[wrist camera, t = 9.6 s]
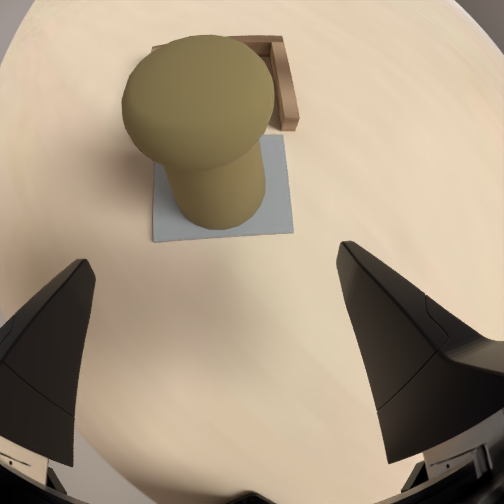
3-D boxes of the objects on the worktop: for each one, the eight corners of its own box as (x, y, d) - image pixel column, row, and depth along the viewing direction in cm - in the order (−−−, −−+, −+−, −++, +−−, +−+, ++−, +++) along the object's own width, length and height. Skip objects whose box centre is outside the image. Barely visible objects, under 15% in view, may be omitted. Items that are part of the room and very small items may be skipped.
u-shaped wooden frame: (295, 130, 18) (299, 118, 16) (144, 142, 18) (136, 131, 16) (279, 49, 19) (282, 36, 17) (157, 59, 18) (152, 46, 17)
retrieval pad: (293, 233, 17) (293, 232, 17) (154, 242, 17) (153, 241, 17) (282, 136, 18) (282, 134, 18) (157, 146, 18) (155, 144, 17)
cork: (157, 204, 17) (62, 118, 6) (204, 131, 18) (173, 5, 7) (237, 247, 17) (225, 194, 6) (281, 168, 17) (324, 45, 6)
